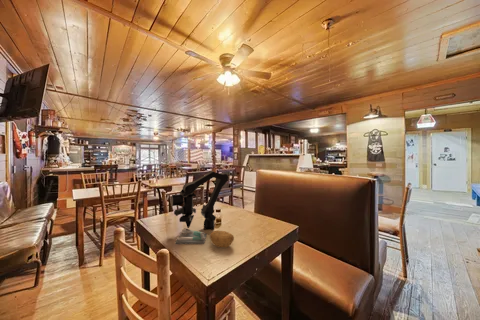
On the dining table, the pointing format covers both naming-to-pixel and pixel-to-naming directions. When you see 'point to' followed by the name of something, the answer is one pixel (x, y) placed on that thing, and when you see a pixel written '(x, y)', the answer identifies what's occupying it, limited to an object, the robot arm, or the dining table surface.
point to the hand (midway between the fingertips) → (188, 227)
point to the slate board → (190, 239)
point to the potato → (221, 238)
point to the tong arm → (193, 232)
